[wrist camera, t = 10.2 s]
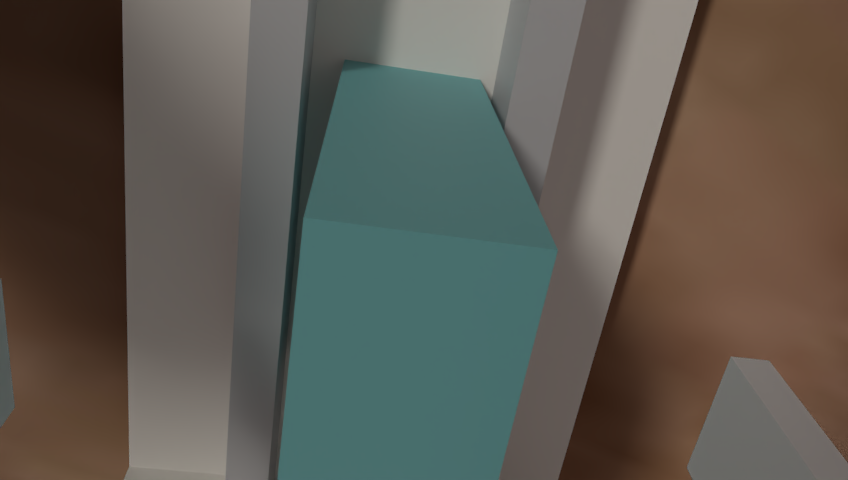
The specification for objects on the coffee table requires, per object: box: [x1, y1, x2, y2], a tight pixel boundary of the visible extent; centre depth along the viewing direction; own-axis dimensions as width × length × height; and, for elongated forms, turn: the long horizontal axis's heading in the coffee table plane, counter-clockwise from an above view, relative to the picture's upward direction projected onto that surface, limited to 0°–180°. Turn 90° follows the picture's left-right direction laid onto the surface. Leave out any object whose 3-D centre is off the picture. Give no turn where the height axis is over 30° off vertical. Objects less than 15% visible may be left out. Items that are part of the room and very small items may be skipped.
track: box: [122, 0, 698, 480], centre depth 18 cm, size 22×14×9 cm, turn 171°
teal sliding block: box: [277, 60, 558, 480], centre depth 17 cm, size 9×4×10 cm, turn 171°
